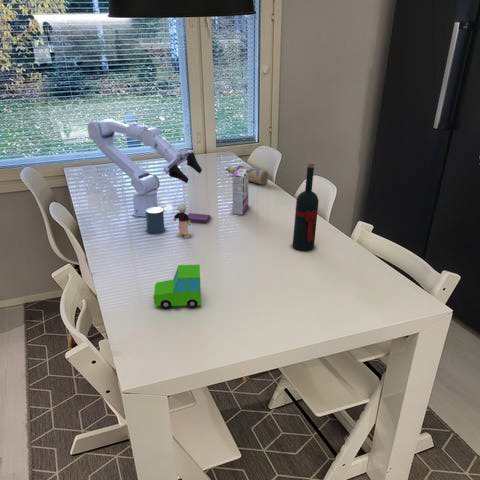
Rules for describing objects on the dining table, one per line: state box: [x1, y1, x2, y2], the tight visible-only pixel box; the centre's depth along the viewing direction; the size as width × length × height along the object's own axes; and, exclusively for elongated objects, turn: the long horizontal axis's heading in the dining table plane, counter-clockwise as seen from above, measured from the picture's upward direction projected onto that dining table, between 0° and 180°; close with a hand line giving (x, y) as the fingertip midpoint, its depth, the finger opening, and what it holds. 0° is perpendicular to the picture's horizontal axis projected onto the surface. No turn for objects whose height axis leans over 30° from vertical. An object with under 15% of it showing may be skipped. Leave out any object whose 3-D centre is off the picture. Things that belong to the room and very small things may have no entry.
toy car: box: [153, 264, 202, 310], centre depth 139 cm, size 10×13×10 cm
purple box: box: [187, 212, 211, 225], centre depth 198 cm, size 9×7×2 cm
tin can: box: [145, 206, 166, 235], centre depth 185 cm, size 7×7×8 cm
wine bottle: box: [292, 162, 320, 252], centre depth 167 cm, size 8×10×30 cm
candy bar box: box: [232, 169, 249, 216], centre depth 204 cm, size 11×5×16 cm, turn 168°
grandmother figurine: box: [173, 202, 192, 239], centre depth 180 cm, size 8×4×13 cm, turn 71°
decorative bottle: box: [225, 164, 269, 186], centre depth 246 cm, size 26×8×7 cm, turn 47°
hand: (194, 176), depth 183 cm, fingers open, 7 cm apart
